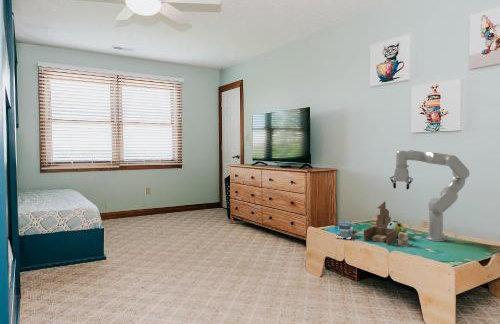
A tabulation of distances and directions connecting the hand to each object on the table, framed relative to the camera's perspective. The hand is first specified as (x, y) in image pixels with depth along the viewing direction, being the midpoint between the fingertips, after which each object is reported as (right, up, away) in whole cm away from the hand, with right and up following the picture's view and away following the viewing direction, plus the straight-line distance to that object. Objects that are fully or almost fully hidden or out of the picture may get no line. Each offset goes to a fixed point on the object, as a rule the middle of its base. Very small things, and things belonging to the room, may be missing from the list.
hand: (401, 188), depth 278 cm
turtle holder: (-1, -38, +5) cm, 39 cm away
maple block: (-6, -39, -17) cm, 43 cm away
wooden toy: (-4, -37, +23) cm, 44 cm away
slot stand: (-18, -39, -5) cm, 43 cm away
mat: (-6, -39, -16) cm, 43 cm away
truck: (-40, -39, +13) cm, 57 cm away
